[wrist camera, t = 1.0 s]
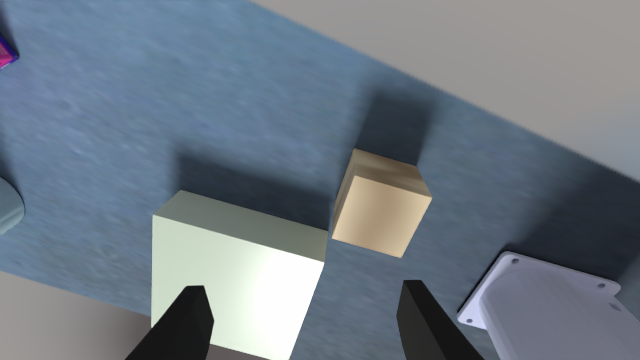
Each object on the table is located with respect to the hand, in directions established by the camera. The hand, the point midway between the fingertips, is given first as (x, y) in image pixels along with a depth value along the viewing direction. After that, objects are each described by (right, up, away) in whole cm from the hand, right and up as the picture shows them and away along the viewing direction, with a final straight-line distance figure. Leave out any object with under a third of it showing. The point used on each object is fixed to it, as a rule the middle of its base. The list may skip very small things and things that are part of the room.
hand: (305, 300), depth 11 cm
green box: (-6, -3, +15) cm, 17 cm away
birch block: (+4, +4, +10) cm, 12 cm away
